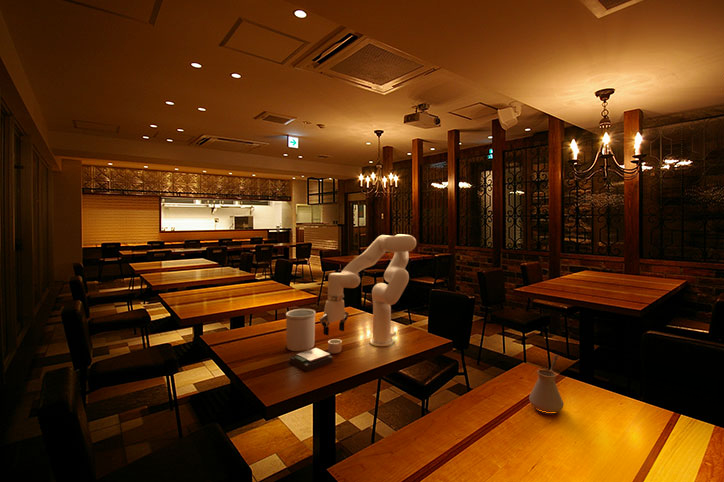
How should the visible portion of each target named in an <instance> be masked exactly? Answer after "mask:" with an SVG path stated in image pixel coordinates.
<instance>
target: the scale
mask: <svg viewBox="0 0 724 482" xmlns="http://www.w3.org/2000/svg"><path fill="white" fill-rule="evenodd" d="M331 363H333V356H332V355H330V356H327V357H324V358H321V359H319V360H316V361H313V362H308V361H307V360H305V359H303V358H301V357H299V356H296V355H294V356H291V357H289V364H291V365H293V366H294V367H297V368H299V369H301V370H302V371H305V372H308V371H312V370H315V369H317V368H320V367H323V366H325V365H329V364H331Z"/></svg>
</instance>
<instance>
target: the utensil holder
mask: <svg viewBox="0 0 724 482" xmlns="http://www.w3.org/2000/svg"><path fill="white" fill-rule="evenodd" d="M285 323H286V325H285V327H286V349H287V350H289V351H292V352H304V351H308V350H311V349H313V348H315V340H316V339H315V337H316V310H315V309H311V308H297V309H292V310H288V311H287V312H286V313H285Z"/></svg>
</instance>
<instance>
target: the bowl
mask: <svg viewBox="0 0 724 482" xmlns="http://www.w3.org/2000/svg"><path fill="white" fill-rule="evenodd" d="M342 347H343V341H342V339H338V338H333V339H329V340H328V341H327V353H329V354H333V355H334V354H335V355H336V354H339V353H341V352H342V349H343V348H342Z"/></svg>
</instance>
